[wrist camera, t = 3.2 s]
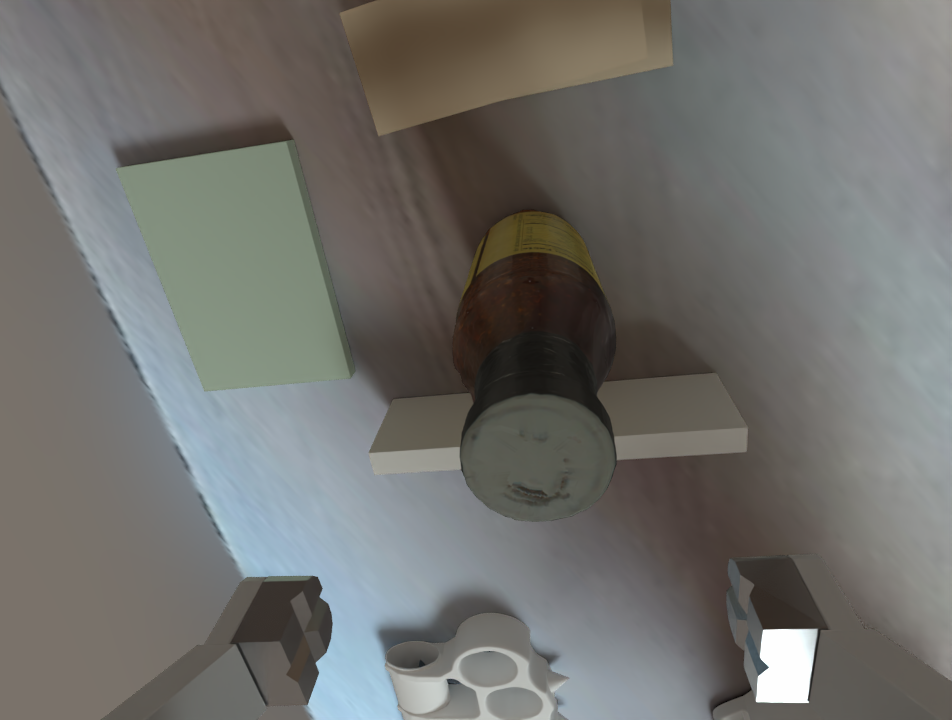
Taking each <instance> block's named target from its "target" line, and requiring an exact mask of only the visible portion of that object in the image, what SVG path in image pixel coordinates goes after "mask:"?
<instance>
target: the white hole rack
mask: <svg viewBox="0 0 952 720" xmlns="http://www.w3.org/2000/svg"><path fill="white" fill-rule="evenodd" d="M483 651H495V652H492V653H486V652H483ZM385 659H386V663H385V667H386V670H387V671H389V672H390V676H391V679H392V682H393V686H394V689H395V692H396V695H397V699H398V710H399V711H401V712H402V715H403V718H404V720H568V719H567V718H565V717H564V716H563V715H562V714H560V713H559V712H558V706H557V699H556V698H555V690H557V689H558V688H559V687H560V686H561V685H562V684H564V683H565V682H566V681H567V680H568V679H569V677H566V676H563V675H561V674H558V673H555V672H553V671H552V670H551V668H550V666H549V664H548V662H547V660H546V659H544V658H543V657H541V656H540V655H538V654H537V653H536V652H535V651H534V649H533V648H532V646H531V644H530V629H529V628H528V627H527V626H526V625H525V624H524V623H522V622H521V621H519V620H518V619H516V618H514V617H511V616H508V615H505V614H500V613H482V614H478V615H474V616H472V617H470V618H468V619H466V620H465V621H464V622H462V623H461V625H460V626H459V627H458V629H457V632H456V636H455V637H454V638H452V639H451V640H449V641H447V642H445V643H428V642H424V641H408V642H404V643H400V644H398V645H395V646H393V647H391V648H390V649H389V650H388V651H387V653H386V656H385ZM420 660H422V661H423V662H424V664H425V666H423V667H419V661H420ZM447 679H455V680H458V681H459V682H461V683H462V684H448V682H447Z"/></svg>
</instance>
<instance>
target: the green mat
mask: <svg viewBox="0 0 952 720" xmlns="http://www.w3.org/2000/svg"><path fill="white" fill-rule="evenodd" d="M116 171H117V173H118V176H119V178H120V181H121V183H122V186H123V188H124V191H125V193H126V196H127V198H128V201H129V203H130V206H131V208H132V211H133V213H134V216H135V218H136V221H137V223H138V226H139V228H140V231H141V233H142V236H143V238H144V241H145V243H146V246H147V248H148V251H149V253H150V256H151V258H152V261H153V263H154V266H155V268H156V271H157V274H158V276H159V279H160V281H161V284H162V286H163V289H164V291H165V294H166V296H167V299H168V301H169V304H170V306H171V309H172V311H173V314H174V316H175V319H176V321H177V324H178V326H179V329H180V331H181V334H182V336H183V339H184V341H185V344H186V346H187V349H188V351H189V354H190V356H191V359H192V361H193V364H194V366H195V369H196V371H197V374H198V376H199V379H200V381H201V384H202V386H203V389H204V391H215V390H226V389H237V388H249V387H260V386H271V385H282V384H294V383H305V382H316V381H327V380H339V379H350V378H352V376H353V374H354V373H355V367H354V363H353V360H352V356H351V352H350V348H349V345H348V341H347V337H346V333H345V330H344V326H343V322H342V319H341V315H340V311H339V307H338V304H337V300H336V296H335V292H334V289H333V285H332V281H331V277H330V274H329V270H328V266H327V262H326V259H325V255H324V251H323V247H322V244H321V240H320V236H319V232H318V229H317V225H316V221H315V217H314V214H313V210H312V206H311V202H310V199H309V195H308V191H307V187H306V184H305V180H304V176H303V172H302V169H301V165H300V161H299V157H298V154H297V150H296V146H295V142H294V140H287V141H281V142H275V143H269V144H262V145H256V146H250V147H243V148H237V149H231V150H224V151H218V152H212V153H205V154H199V155H193V156H187V157H180V158H174V159H168V160H161V161H155V162H149V163H142V164H136V165H130V166H125V167H120V168H116Z"/></svg>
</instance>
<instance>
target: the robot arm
mask: <svg viewBox="0 0 952 720" xmlns="http://www.w3.org/2000/svg"><path fill="white" fill-rule="evenodd" d="M728 576H729V578H730V581H731V584H732V586H731V587H730V588H729V589H728V590H727V602H726V604H727V612H728V620H729V623H730V627H731V631H732V634H733V637H734V640H735V643H736V644H737V645H738V646H739V647H740V648H741V649H742V650H744V651H745V653H744V669H745V671H746V674H747V677H748V680H749V683H750V685H751V688H752V690H751V691H750V692H748V693H747V694H745V695H744V696H741V697H739V698H736V699H733V700H731V701H728V702H726V703H723V704H721V705H719V706H718V707H716V708H715V709H714V711H713V719H714V720H952V681H950V680H949V679H947V678H946V677H944V676H943V675H941V674H940V673H938V672H937V671H935V670H934V669H932V668H931V667H929V666H928V665H926V664H925V663H924V662H922V661H921V660H919V659H918V658H916V657H915V656H913V655H912V654H910V653H909V652H907V651H906V650H904V649H903V648H901V647H900V646H898V645H897V644H895V643H894V642H892V641H891V640H890V639H888V638H887V637H885V636H884V635H882V634H881V633H879V632H878V631H876V630H875V629H864V627H863V625H862V624H861V622H860V620H859V619H858V617H857V615H856V614H855V612H854V610H853V609H852V607H851V605H850V604H849V602H848V600H847V599H846V597H845V595H844V594H843V592H842V590H841V589H840V587H839V585H838V584H837V582H836V580H835V579H834V577H833V575H832V574H831V572H830V570H829V569H828V567H827V565H826V564H825V562H824V560H823V559H822V557H820V556H819V555H818V554H799V555H787V556H785V555H777V556H758V557H739V558H730V560H729V563H728ZM322 589H323V588H322V586H321V584H320V581H319V579H318V577H315V576H269V577H247V578H245V579H244V580H243V581H241V582H240V584H239V585H238V587H237V589H236V590H235V592H234V594H233V596H232V597H231V599H230V601H229V602H228V604H227V606H226V608H225V610H224V611H223V613H222V614H221V616H220V618H219V620H218V621H217V623H216V625H215V627H214V628H213V630H212V632H211V633H210V635H209V637H208V639H207V640H206V642H205V644H204V645H197V646H195V647H194V648H193V649H191V650H190V651H189V652H188V653H186V654H185V655H184V656H182V657H181V658H180V659H179V660H177V661H176V662H175V663H173V664H172V665H171V666H169V667H168V668H167V669H166V670H164V671H163V672H162V673H160V674H159V675H158V676H157V677H155V678H154V679H153V680H151V681H150V682H149V683H148V684H146V685H145V686H144V687H143V688H141V689H140V690H139V691H137V692H136V693H135V694H133V695H132V696H131V697H130V698H128V699H127V700H126V701H124V702H123V703H122V704H121V705H119V706H118V707H117V708H115V709H114V710H113V711H111V712H110V713H109V714H108V715H107V716H105V717H104V718H102V719H101V720H258V718H259V717H260V716H261V715H262V714H263V713H264V712H265V711H266V709H267V708H266V706H289V705H308V702H309V699H310V697H311V694H312V691H313V688H314V685H315V683H316V680H317V677H318V674H319V671H318V669H317V666H316V662H317V661H318V660H319V659H320V658H321V657H322V656H323V655H324V654H325V653H326V652H327V649H328V646H329V643H330V640H331V633H332V624H333V623H332V615H331V611H330V608H329V605H328V603H326V602H325V601H324V600H322V599H321V598H320V597H319V596H320V594H321V591H322Z"/></svg>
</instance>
